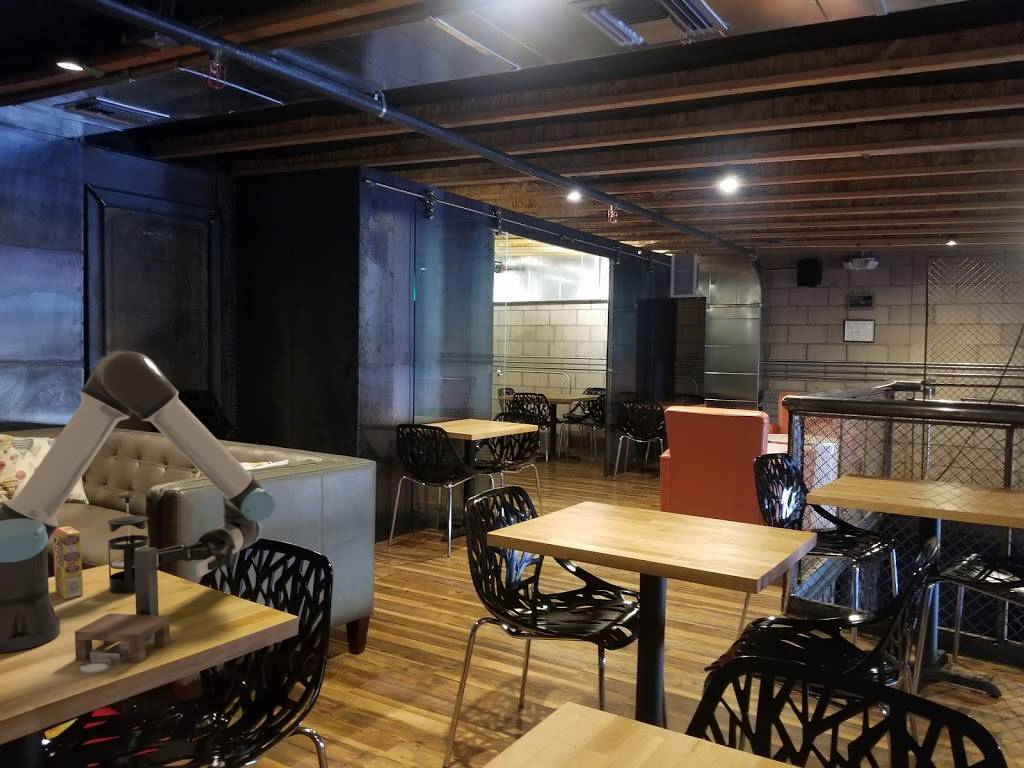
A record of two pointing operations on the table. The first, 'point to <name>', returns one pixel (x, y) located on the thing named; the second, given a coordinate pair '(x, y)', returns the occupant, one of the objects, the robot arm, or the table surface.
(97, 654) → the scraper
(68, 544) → the candy box
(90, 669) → the disc
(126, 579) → the french press
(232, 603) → the table surface
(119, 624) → the stand
